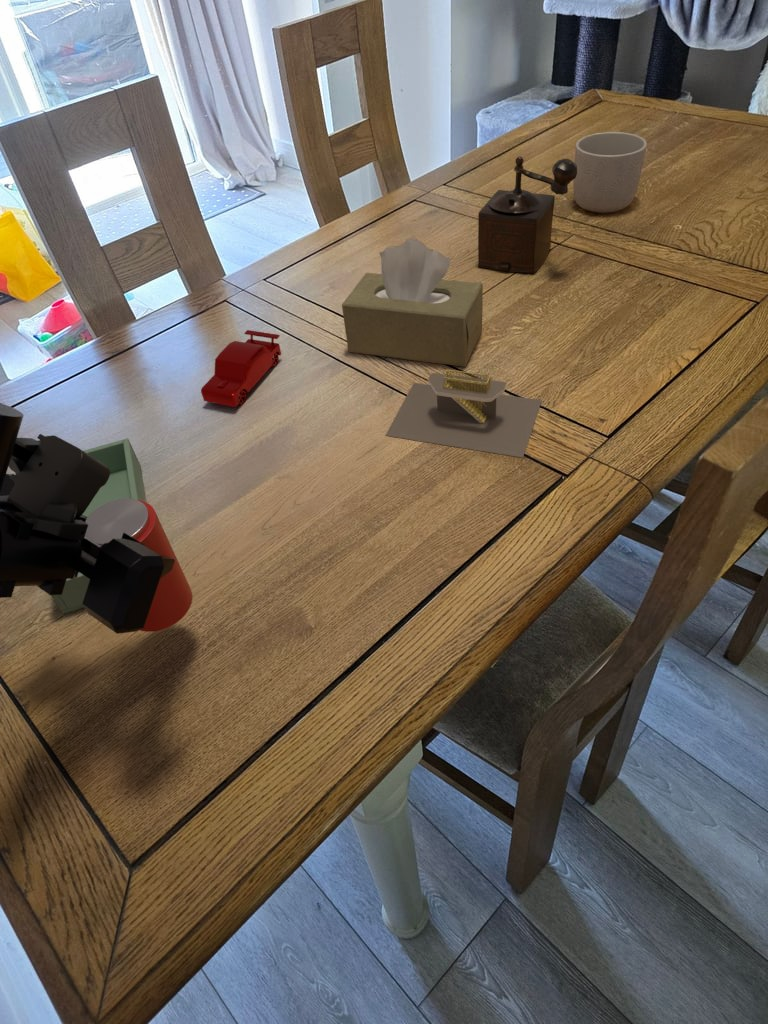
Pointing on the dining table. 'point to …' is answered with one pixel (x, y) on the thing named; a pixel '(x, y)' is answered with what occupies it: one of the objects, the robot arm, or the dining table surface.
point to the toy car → (240, 369)
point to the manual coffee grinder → (521, 222)
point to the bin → (119, 485)
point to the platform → (466, 414)
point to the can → (148, 530)
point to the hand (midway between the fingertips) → (147, 549)
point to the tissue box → (414, 309)
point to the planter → (608, 170)
